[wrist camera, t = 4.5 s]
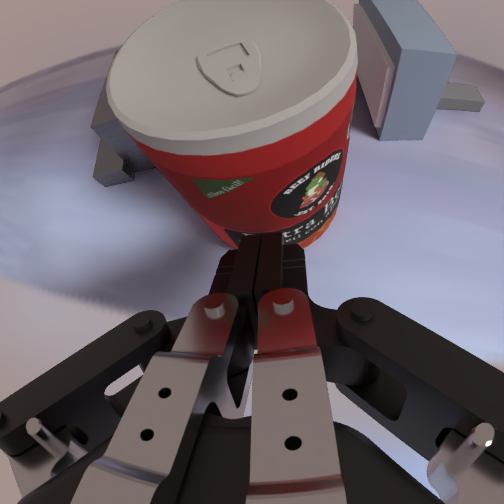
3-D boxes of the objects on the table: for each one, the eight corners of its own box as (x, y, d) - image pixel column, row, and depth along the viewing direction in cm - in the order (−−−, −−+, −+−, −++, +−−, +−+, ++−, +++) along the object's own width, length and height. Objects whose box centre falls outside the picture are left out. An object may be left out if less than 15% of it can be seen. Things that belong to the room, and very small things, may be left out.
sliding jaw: (457, 71, 18) (482, 2, 11) (492, 141, 16) (538, 72, 9) (349, 66, 20) (352, -17, 12) (373, 140, 18) (393, 48, 11)
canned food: (254, 290, 17) (161, 207, 6) (182, 184, 19) (82, 58, 9) (368, 207, 17) (419, 51, 6) (283, 117, 19) (253, -34, 9)
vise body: (188, 81, 22) (162, 30, 16) (179, 172, 19) (140, 120, 14) (123, 99, 23) (91, 56, 17) (105, 187, 20) (57, 148, 15)
